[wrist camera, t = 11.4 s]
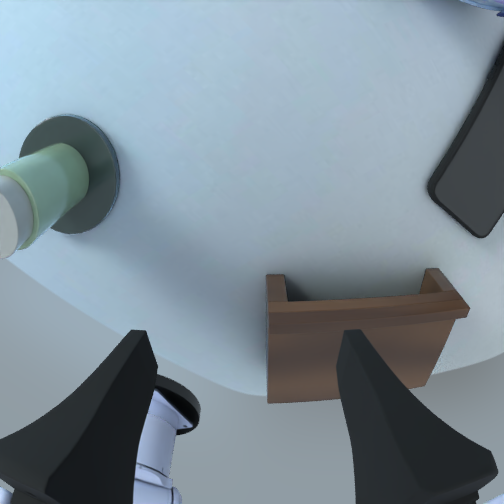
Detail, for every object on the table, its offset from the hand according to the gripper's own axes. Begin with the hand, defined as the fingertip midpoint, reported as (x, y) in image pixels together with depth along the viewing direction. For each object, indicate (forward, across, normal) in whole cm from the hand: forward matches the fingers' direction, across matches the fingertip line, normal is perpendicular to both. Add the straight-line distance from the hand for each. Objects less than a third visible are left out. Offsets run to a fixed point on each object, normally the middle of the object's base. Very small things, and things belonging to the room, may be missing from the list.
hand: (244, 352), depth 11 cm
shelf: (+10, -7, +8) cm, 15 cm away
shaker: (+9, +12, -4) cm, 16 cm away
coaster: (+10, +12, -4) cm, 16 cm away
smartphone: (+10, -18, -7) cm, 22 cm away
